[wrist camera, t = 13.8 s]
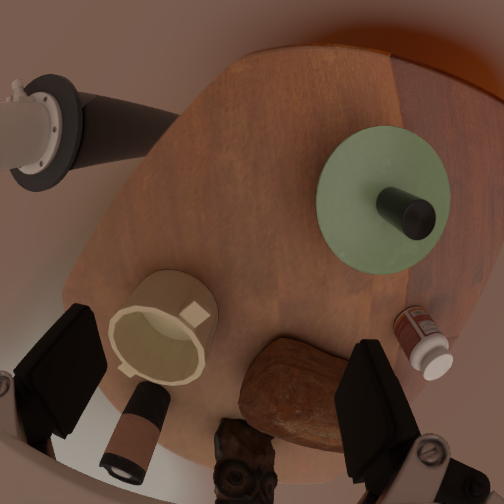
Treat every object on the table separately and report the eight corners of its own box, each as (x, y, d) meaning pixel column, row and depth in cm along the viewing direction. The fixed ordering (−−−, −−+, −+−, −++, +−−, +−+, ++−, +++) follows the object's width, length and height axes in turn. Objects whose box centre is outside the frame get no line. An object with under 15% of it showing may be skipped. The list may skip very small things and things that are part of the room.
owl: (217, 414, 48) (199, 501, 30) (281, 417, 48) (280, 507, 29) (222, 442, 53) (209, 516, 35) (277, 445, 52) (275, 521, 34)
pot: (115, 311, 41) (87, 346, 32) (182, 238, 36) (155, 269, 27) (173, 360, 44) (156, 402, 35) (250, 303, 38) (244, 348, 29)
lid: (281, 192, 24) (284, 209, 17) (392, 97, 20) (428, 86, 13) (369, 294, 27) (390, 334, 20) (462, 211, 23) (502, 231, 16)
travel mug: (177, 393, 47) (147, 481, 28) (165, 409, 50) (137, 488, 31) (141, 374, 46) (100, 459, 27) (132, 392, 49) (96, 468, 30)
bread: (356, 417, 47) (366, 465, 36) (232, 375, 44) (222, 434, 33) (404, 375, 42) (425, 425, 31) (276, 319, 39) (276, 383, 28)
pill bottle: (400, 343, 40) (424, 391, 29) (386, 320, 38) (412, 370, 28) (430, 322, 38) (460, 365, 28) (419, 297, 36) (453, 341, 26)
